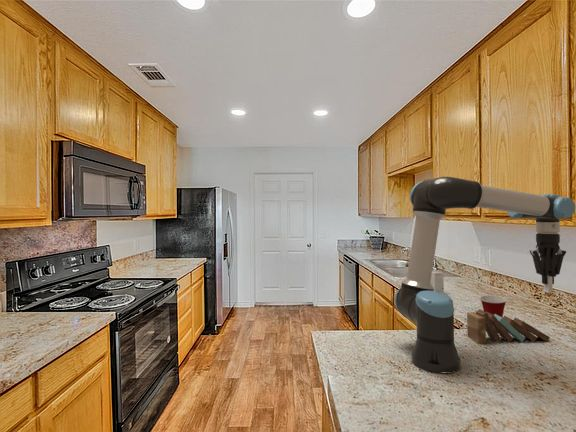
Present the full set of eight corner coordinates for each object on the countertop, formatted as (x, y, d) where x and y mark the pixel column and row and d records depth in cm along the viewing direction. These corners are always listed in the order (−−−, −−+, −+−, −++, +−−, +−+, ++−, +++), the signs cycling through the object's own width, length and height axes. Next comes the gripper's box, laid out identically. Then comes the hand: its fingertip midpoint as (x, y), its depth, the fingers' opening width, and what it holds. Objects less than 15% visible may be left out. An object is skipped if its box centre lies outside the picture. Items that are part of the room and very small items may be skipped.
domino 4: (534, 341, 132) (509, 323, 132) (525, 337, 137) (501, 319, 137) (537, 337, 132) (512, 319, 132) (528, 333, 137) (504, 315, 137)
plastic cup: (477, 325, 153) (477, 298, 153) (481, 318, 161) (481, 293, 161) (506, 329, 146) (505, 301, 146) (508, 323, 155) (508, 296, 155)
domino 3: (516, 333, 137) (494, 313, 137) (525, 338, 132) (502, 317, 132) (513, 337, 137) (491, 317, 137) (521, 341, 132) (498, 321, 132)
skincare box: (435, 297, 203) (434, 273, 203) (426, 295, 209) (426, 271, 209) (444, 296, 207) (444, 271, 207) (436, 294, 213) (435, 270, 213)
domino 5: (547, 341, 132) (520, 325, 132) (538, 337, 137) (512, 321, 137) (550, 337, 132) (523, 321, 132) (540, 332, 137) (515, 317, 137)
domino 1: (496, 342, 132) (482, 315, 132) (489, 337, 137) (475, 311, 137) (501, 339, 132) (486, 312, 132) (493, 335, 137) (479, 309, 137)
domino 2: (509, 342, 132) (489, 318, 132) (501, 337, 137) (482, 314, 137) (513, 338, 132) (493, 315, 132) (505, 334, 137) (486, 311, 137)
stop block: (478, 343, 131) (477, 318, 131) (467, 336, 139) (467, 312, 139) (485, 343, 131) (485, 318, 131) (474, 336, 139) (474, 312, 139)
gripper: (537, 233, 131) (538, 294, 131) (572, 233, 130) (572, 294, 130) (524, 232, 138) (524, 290, 138) (556, 232, 138) (557, 290, 138)
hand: (547, 292), depth 134 cm, fingers closed
